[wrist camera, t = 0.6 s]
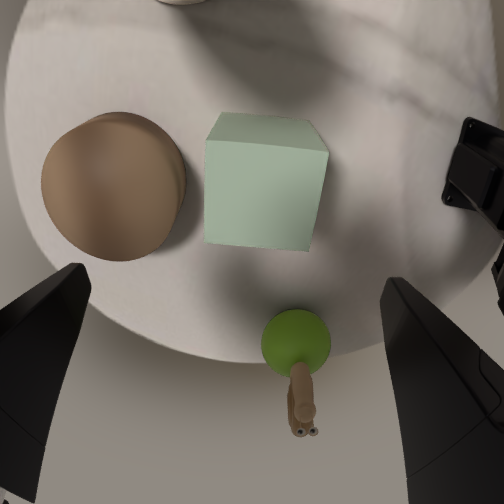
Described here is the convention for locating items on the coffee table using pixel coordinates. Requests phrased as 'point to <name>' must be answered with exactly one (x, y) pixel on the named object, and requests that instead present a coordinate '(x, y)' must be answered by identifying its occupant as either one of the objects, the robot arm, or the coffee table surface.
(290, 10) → the coffee table surface
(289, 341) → the snail figurine
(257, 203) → the sage block
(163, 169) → the walnut base
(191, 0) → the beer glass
